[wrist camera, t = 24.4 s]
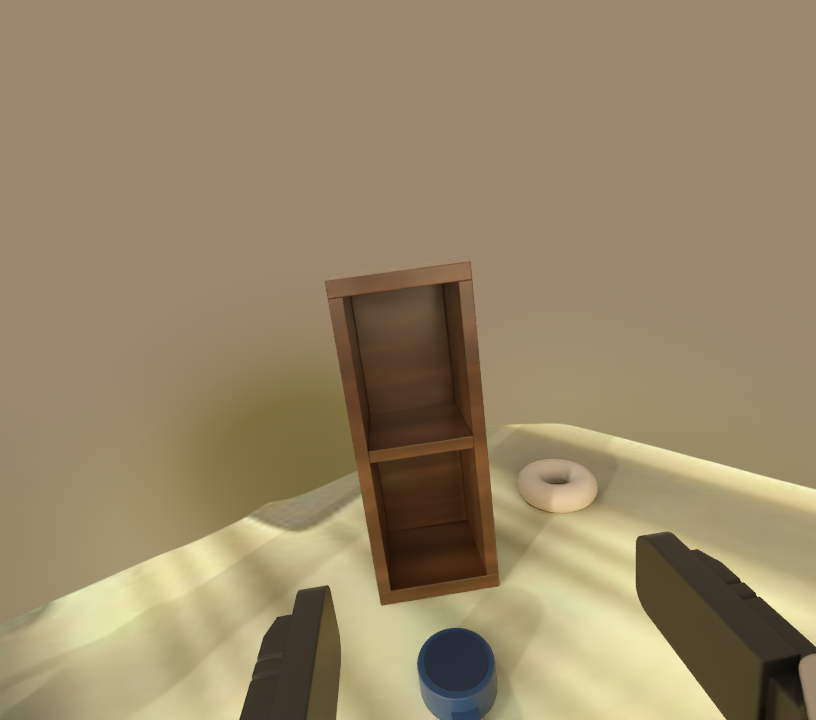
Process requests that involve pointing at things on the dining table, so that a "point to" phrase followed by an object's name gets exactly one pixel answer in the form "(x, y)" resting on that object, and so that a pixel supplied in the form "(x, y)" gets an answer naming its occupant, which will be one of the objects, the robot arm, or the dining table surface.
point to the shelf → (417, 425)
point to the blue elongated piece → (457, 675)
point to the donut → (563, 498)
